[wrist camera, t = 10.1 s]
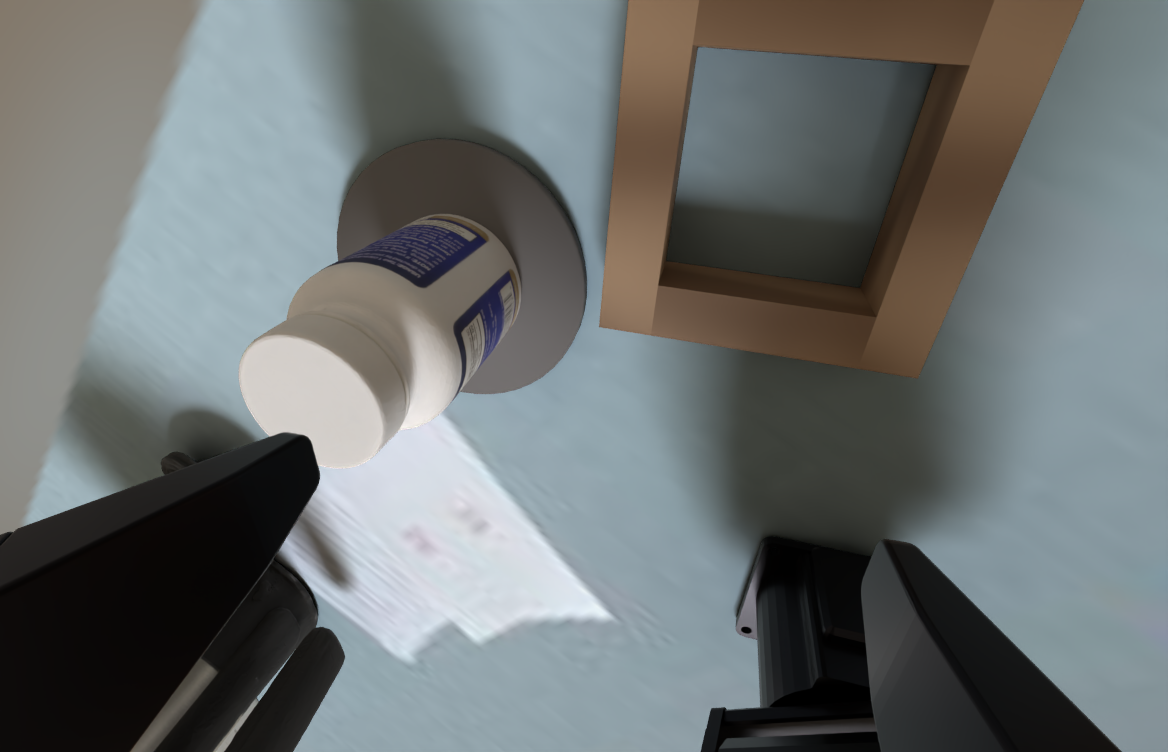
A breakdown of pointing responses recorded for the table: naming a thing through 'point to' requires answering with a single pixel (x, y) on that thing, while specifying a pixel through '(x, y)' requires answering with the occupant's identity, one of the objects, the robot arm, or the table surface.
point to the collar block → (919, 201)
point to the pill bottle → (383, 338)
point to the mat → (507, 209)
